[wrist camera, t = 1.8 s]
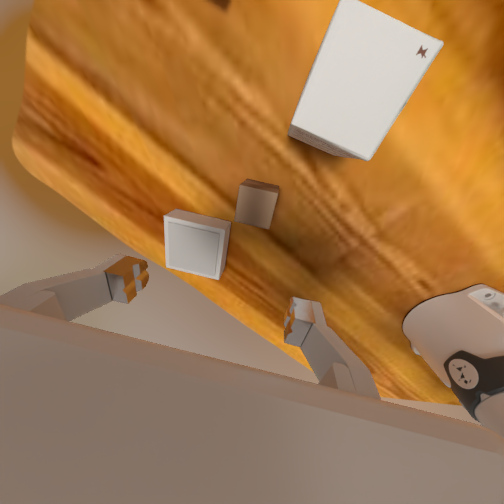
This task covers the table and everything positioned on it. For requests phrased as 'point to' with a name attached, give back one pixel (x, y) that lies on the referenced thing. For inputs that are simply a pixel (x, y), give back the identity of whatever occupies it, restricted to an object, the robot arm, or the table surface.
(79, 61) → the table surface
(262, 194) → the walnut block
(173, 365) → the robot arm
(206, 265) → the plinth
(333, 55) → the supplement box
